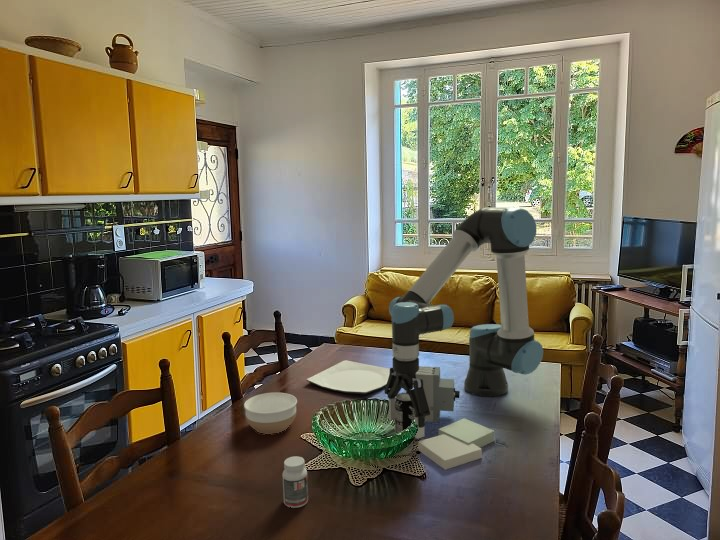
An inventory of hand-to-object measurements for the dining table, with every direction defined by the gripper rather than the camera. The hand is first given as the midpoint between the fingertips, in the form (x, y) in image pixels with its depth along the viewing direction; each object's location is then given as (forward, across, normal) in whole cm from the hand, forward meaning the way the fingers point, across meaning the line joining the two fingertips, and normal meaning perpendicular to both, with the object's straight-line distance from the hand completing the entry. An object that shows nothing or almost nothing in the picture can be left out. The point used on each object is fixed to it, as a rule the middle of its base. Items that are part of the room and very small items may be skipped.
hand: (406, 427), depth 153 cm
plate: (+3, -48, +8) cm, 49 cm away
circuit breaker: (+2, -6, +15) cm, 16 cm away
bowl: (+3, -26, -32) cm, 41 cm away
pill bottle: (+3, +15, -40) cm, 43 cm away
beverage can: (+2, 0, 0) cm, 3 cm away
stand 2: (+2, +15, +4) cm, 16 cm away
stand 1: (+2, +11, +13) cm, 17 cm away
